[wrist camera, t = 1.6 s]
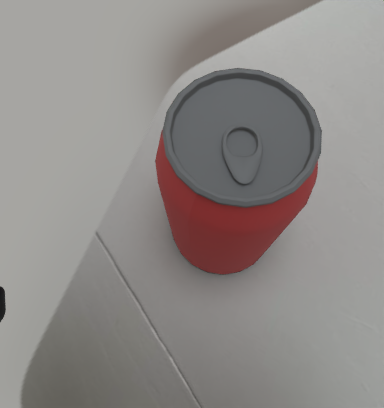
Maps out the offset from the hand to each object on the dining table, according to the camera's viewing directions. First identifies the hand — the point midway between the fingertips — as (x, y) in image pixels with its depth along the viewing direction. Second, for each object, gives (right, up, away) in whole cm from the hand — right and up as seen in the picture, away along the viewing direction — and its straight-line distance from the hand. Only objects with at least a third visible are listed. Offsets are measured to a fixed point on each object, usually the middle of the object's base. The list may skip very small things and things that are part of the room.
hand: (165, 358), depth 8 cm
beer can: (+3, +2, +15) cm, 15 cm away
